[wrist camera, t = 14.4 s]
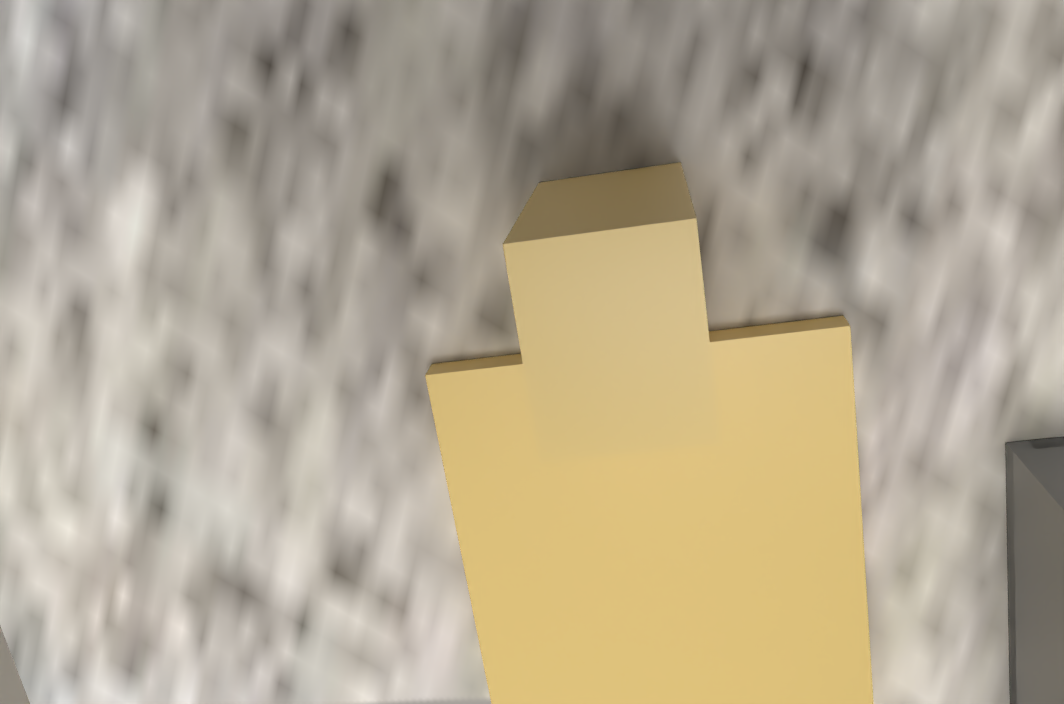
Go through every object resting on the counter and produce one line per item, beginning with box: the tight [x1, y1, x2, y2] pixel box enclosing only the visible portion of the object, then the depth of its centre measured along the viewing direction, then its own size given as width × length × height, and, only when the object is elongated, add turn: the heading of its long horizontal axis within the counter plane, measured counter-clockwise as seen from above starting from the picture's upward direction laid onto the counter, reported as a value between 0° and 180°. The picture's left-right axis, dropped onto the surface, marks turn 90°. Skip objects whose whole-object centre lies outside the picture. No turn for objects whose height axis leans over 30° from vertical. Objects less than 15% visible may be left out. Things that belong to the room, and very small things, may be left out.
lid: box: [425, 162, 873, 704], centre depth 27 cm, size 21×12×8 cm, turn 9°
